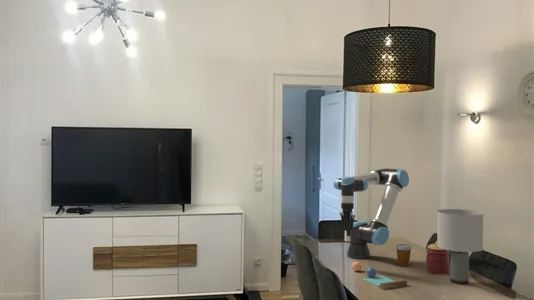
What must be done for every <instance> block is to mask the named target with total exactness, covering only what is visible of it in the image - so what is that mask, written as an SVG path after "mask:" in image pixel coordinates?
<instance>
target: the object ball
mask: <svg viewBox="0 0 534 300" xmlns="http://www.w3.org/2000/svg"><path fill="white" fill-rule="evenodd" d="M365 273H366V275H367V276H368V278H371V277H376V275H377V269H375V268H374V267H373V266H372V267H368V268H367V269H366V271H365Z"/></svg>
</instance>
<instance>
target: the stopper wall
mask: <svg viewBox="0 0 534 300" xmlns="http://www.w3.org/2000/svg"><path fill="white" fill-rule="evenodd" d="M406 286H408V280H406V279H400V280H394V281H393V282H386V283H380V286H379V289H381V290H386V289H395V288H400V287H406Z"/></svg>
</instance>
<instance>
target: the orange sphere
mask: <svg viewBox="0 0 534 300" xmlns="http://www.w3.org/2000/svg"><path fill="white" fill-rule="evenodd" d="M351 269H352V270H353V271H354V272H359V271H360V270H361V269H362V263H361V262H360V261H353V262H352V263H351Z"/></svg>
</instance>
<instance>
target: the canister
mask: <svg viewBox="0 0 534 300" xmlns="http://www.w3.org/2000/svg"><path fill="white" fill-rule="evenodd" d="M425 252H426V255H425V260H426V261H425V263H426V264H425V271H426V272H428V273H430V274H435V275H446V274H447V275H448V274H449V273H450V257H449V254H450V250H446V249H442V248H439V247H438V246H437V241H435V242H434V243H431V244H429V245H427V248H426V250H425Z"/></svg>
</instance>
